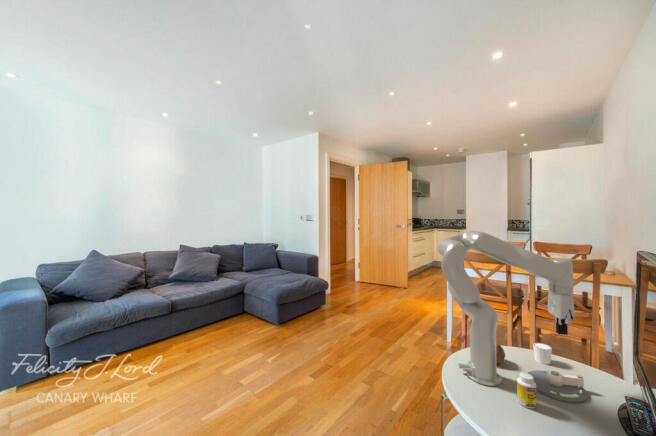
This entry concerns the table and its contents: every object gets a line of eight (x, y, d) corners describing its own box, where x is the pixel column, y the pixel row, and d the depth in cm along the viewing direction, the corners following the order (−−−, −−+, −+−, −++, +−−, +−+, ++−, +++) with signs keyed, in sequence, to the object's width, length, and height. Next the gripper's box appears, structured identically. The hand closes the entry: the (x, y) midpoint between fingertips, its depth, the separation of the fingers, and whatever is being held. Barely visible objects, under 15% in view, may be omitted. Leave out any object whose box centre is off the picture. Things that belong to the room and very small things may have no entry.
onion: (502, 371, 119) (512, 356, 115) (480, 364, 121) (489, 349, 117) (496, 354, 127) (505, 339, 123) (475, 347, 129) (484, 333, 125)
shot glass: (556, 365, 117) (555, 350, 117) (538, 364, 119) (538, 349, 119) (546, 357, 124) (546, 343, 124) (530, 356, 125) (529, 341, 125)
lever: (551, 386, 102) (551, 375, 102) (544, 378, 106) (544, 368, 106) (586, 390, 99) (586, 379, 99) (577, 382, 103) (577, 372, 103)
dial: (540, 398, 97) (540, 394, 97) (518, 370, 114) (518, 367, 114) (600, 406, 92) (600, 402, 92) (568, 376, 110) (567, 372, 110)
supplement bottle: (528, 410, 91) (527, 381, 91) (513, 400, 97) (512, 372, 97) (540, 407, 92) (540, 379, 92) (525, 397, 98) (525, 370, 98)
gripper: (540, 284, 116) (541, 325, 116) (560, 294, 101) (562, 341, 101) (560, 284, 114) (561, 326, 114) (584, 294, 99) (585, 343, 99)
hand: (561, 333), depth 108 cm, fingers closed
